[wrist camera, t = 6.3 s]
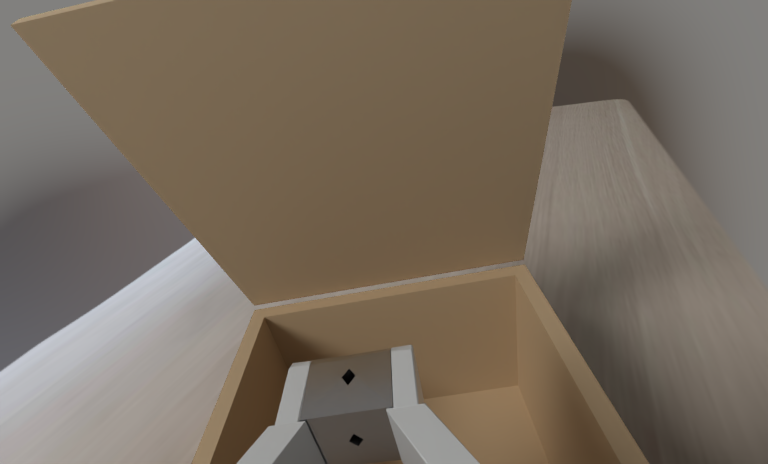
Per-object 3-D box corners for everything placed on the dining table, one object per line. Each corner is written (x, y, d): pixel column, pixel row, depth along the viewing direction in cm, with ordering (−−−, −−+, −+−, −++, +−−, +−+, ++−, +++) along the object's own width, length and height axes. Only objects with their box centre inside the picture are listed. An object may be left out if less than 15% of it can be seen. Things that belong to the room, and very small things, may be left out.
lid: (592, -113, 9) (584, -116, 10) (10, 25, 11) (20, 18, 11) (523, 259, 21) (520, 252, 22) (254, 305, 23) (255, 298, 23)
